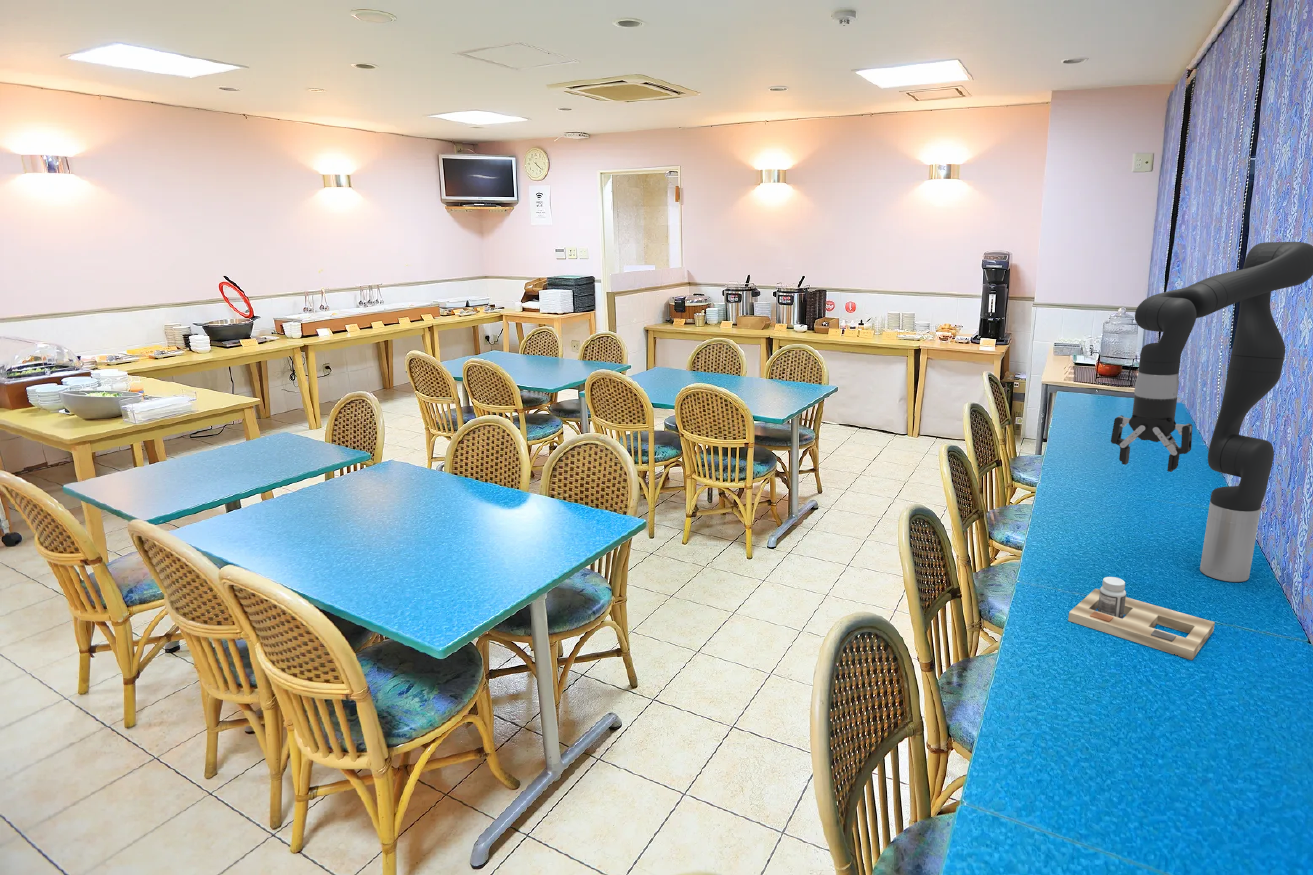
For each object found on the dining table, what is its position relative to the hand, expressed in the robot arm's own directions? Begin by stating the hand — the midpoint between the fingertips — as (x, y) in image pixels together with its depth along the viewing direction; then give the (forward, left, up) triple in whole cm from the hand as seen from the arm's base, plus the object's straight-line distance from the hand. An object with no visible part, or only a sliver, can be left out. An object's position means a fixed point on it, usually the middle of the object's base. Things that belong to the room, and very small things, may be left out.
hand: (1147, 467), depth 160 cm
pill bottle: (+15, 0, -30) cm, 33 cm away
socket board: (+15, +6, -30) cm, 34 cm away
